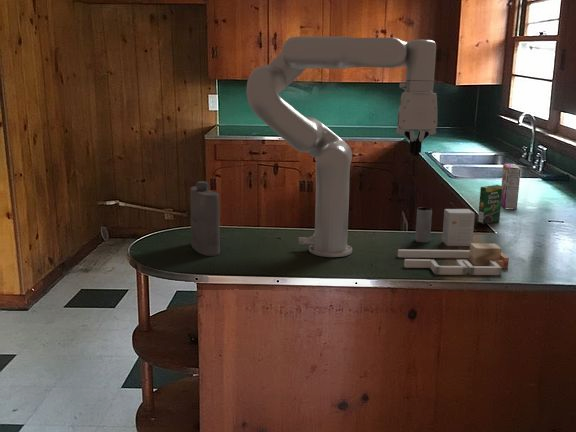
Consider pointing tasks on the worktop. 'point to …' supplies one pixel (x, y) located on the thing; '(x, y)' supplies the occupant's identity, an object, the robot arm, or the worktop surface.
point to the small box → (458, 227)
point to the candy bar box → (510, 185)
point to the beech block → (484, 253)
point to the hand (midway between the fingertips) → (414, 155)
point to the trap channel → (460, 266)
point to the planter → (423, 224)
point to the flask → (204, 219)
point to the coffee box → (490, 204)
